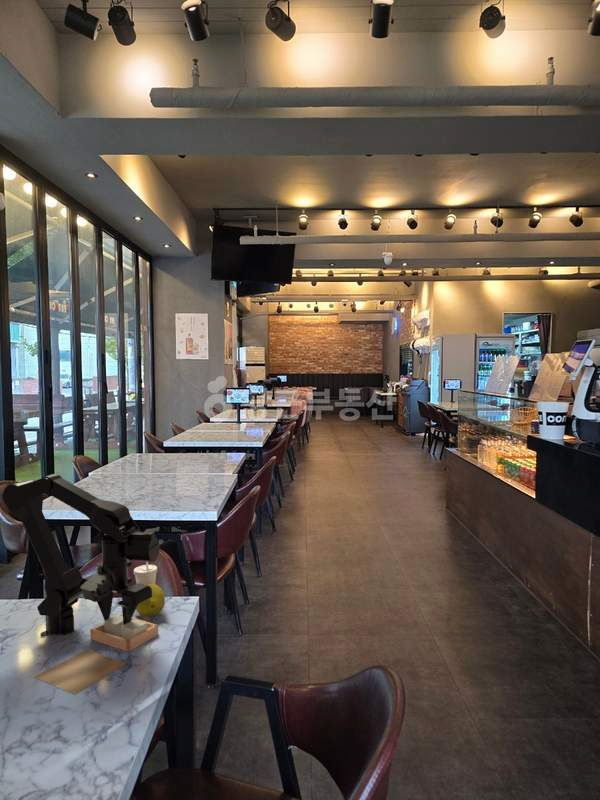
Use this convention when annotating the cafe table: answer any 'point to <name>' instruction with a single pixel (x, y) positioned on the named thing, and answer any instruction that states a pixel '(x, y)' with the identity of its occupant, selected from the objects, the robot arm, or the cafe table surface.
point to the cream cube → (133, 628)
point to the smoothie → (145, 574)
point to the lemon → (152, 602)
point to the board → (80, 671)
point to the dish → (122, 643)
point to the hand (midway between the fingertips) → (116, 623)
